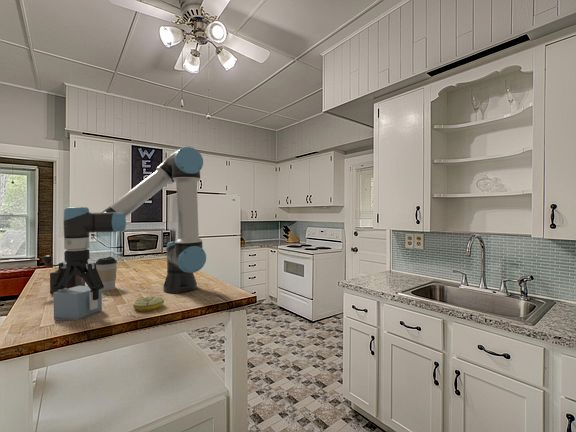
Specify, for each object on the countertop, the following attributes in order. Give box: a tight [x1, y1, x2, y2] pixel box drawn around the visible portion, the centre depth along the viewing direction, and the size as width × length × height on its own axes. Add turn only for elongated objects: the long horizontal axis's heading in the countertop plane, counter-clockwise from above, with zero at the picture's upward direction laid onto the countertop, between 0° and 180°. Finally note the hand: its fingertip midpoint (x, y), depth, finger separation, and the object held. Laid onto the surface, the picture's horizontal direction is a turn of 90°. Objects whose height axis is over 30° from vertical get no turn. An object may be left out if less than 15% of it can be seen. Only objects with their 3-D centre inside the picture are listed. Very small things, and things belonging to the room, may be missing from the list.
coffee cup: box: [95, 256, 118, 292], centre depth 146 cm, size 9×9×15 cm
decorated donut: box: [132, 296, 165, 313], centre depth 116 cm, size 10×11×4 cm
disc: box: [53, 310, 102, 322], centre depth 110 cm, size 14×14×1 cm
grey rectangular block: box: [52, 285, 103, 320], centre depth 110 cm, size 10×10×9 cm
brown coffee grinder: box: [41, 254, 86, 294], centre depth 142 cm, size 16×11×18 cm
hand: (78, 307), depth 110 cm, fingers open, 13 cm apart
